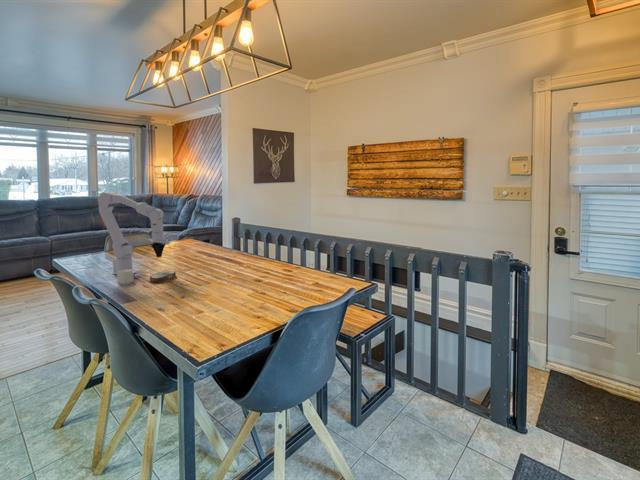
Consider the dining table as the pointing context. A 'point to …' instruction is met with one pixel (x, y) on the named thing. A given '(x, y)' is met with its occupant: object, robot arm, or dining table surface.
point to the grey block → (125, 276)
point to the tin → (162, 276)
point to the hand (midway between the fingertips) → (159, 256)
